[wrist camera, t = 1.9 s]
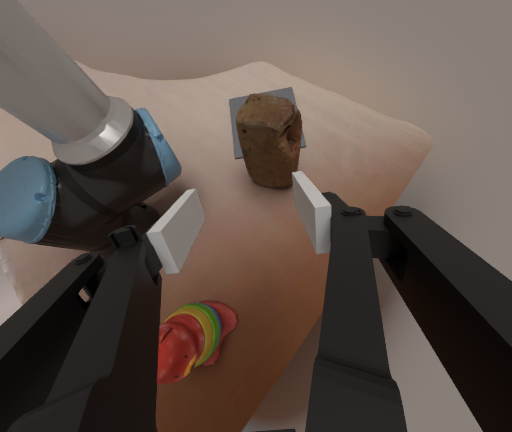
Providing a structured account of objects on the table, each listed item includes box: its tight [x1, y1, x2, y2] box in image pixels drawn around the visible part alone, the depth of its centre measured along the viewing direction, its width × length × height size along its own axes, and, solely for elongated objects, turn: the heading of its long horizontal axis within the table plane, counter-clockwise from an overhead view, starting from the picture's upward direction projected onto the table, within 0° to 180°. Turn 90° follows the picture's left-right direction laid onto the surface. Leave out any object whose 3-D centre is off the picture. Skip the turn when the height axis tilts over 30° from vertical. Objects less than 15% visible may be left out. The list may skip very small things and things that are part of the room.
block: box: [236, 94, 302, 188], centre depth 39 cm, size 11×8×20 cm
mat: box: [229, 87, 306, 159], centre depth 53 cm, size 18×20×1 cm
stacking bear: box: [157, 301, 239, 384], centre depth 31 cm, size 11×10×18 cm
